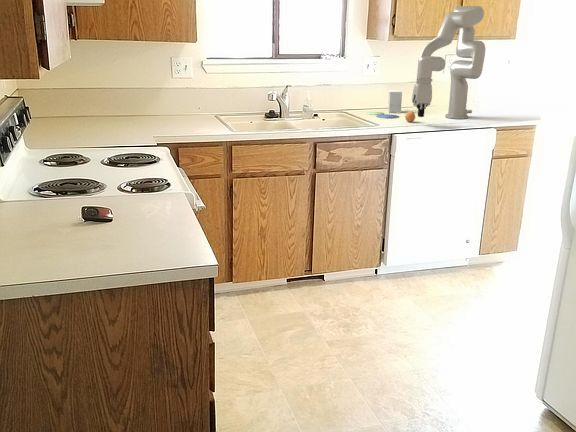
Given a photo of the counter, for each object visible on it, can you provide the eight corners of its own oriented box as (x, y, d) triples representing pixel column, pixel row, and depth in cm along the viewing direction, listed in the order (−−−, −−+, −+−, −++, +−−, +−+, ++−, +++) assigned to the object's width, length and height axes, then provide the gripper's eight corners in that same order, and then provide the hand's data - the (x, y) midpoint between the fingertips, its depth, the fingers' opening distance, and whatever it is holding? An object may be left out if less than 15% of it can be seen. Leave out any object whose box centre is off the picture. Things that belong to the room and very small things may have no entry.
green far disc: (377, 111, 361) (377, 111, 361) (387, 114, 353) (387, 113, 353) (363, 112, 357) (363, 112, 357) (373, 115, 349) (373, 115, 349)
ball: (410, 120, 332) (411, 110, 330) (417, 122, 327) (417, 112, 325) (402, 121, 329) (403, 111, 328) (408, 123, 325) (409, 112, 323)
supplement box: (400, 111, 364) (401, 90, 360) (401, 113, 357) (402, 91, 353) (387, 111, 365) (388, 89, 361) (388, 112, 358) (389, 91, 354)
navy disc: (390, 114, 353) (390, 113, 353) (403, 117, 342) (403, 117, 342) (371, 115, 348) (371, 115, 348) (384, 119, 337) (384, 118, 337)
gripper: (430, 80, 319) (427, 115, 325) (407, 81, 313) (404, 116, 318) (439, 81, 313) (436, 117, 318) (416, 82, 306) (413, 118, 312)
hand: (420, 116), depth 318 cm, fingers closed
